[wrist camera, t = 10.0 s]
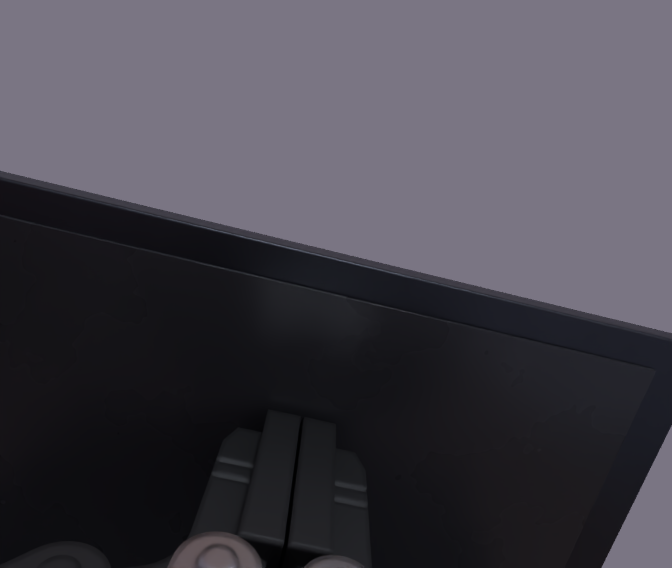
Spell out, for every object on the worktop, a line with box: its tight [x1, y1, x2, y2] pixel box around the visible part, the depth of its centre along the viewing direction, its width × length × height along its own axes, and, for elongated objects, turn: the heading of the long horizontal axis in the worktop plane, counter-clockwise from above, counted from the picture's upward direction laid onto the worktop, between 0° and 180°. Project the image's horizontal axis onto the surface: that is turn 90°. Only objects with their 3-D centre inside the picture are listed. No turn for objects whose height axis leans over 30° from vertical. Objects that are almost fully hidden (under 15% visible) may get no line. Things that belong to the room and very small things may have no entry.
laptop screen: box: [0, 171, 672, 568], centre depth 12 cm, size 10×16×1 cm
